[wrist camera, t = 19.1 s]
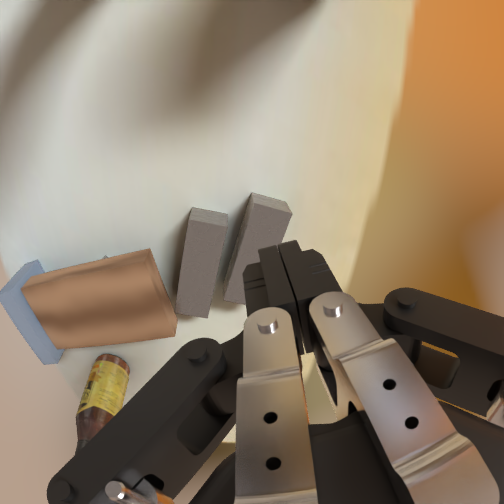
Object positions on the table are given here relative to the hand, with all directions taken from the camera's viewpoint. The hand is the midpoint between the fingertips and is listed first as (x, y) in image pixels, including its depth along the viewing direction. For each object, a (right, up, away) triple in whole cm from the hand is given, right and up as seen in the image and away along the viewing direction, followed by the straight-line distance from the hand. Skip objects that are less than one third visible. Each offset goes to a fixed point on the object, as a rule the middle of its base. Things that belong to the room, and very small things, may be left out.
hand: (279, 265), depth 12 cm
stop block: (-31, -6, +26) cm, 41 cm away
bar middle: (-7, 0, +25) cm, 26 cm away
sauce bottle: (-24, -18, +33) cm, 44 cm away
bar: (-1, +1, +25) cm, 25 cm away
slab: (-20, -5, +23) cm, 30 cm away
